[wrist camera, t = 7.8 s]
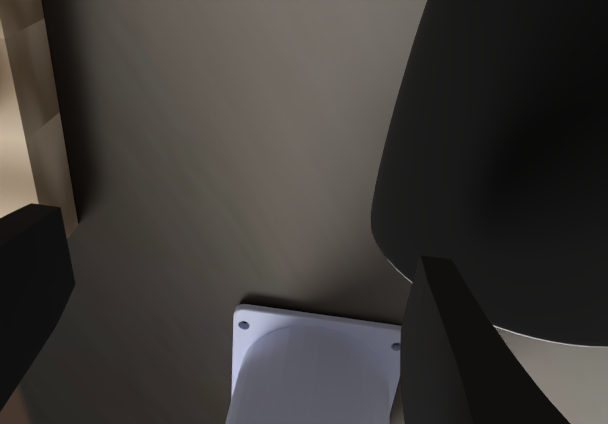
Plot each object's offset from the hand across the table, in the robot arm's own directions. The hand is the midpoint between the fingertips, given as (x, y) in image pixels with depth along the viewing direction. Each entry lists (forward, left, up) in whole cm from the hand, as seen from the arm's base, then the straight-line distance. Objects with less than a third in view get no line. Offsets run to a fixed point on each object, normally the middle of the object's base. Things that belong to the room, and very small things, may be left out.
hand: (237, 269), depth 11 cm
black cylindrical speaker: (+8, -9, -7) cm, 14 cm away
